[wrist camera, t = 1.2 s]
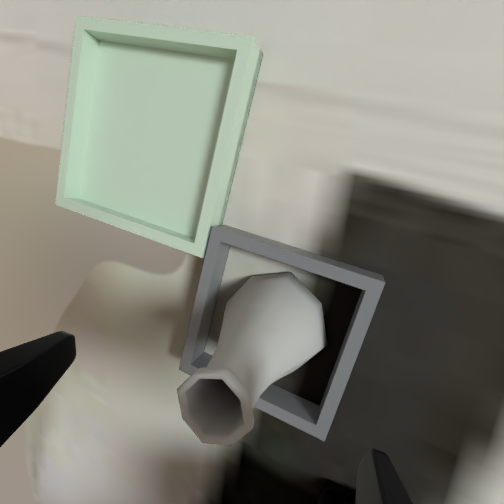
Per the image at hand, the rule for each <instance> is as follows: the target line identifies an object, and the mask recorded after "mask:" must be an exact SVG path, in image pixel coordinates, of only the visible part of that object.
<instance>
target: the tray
mask: <svg viewBox="0 0 504 504" xmlns="http://www.w3.org/2000/svg"><path fill="white" fill-rule="evenodd" d="M262 56H263V53H262V51H261V49H260V48H259V46H258V44H257V42H256V41H255V39H254V37H253V36H245V35H237V34H228V33H220V32H212V31H203V30H195V29H186V28H178V27H169V26H161V25H152V24H144V23H136V22H127V21H119V20H110V19H102V18H93V17H85V16H76V22H75V31H74V40H73V49H72V58H71V67H70V76H69V85H68V94H67V103H66V112H65V121H64V130H63V140H62V149H61V158H60V167H59V176H58V185H57V194H56V203H55V205H57V206H60V207H62V208H65V209H68V210H71V211H73V212H76V213H79V214H82V215H84V216H87V217H90V218H93V219H96V220H98V221H101V222H104V223H107V224H109V225H112V226H115V227H118V228H120V229H123V230H126V231H129V232H131V233H134V234H137V235H140V236H142V237H145V238H148V239H151V240H154V241H156V242H159V243H162V244H164V245H167V246H170V247H173V248H176V249H179V250H181V251H184V252H187V253H189V254H192V255H195V256H198V257H200V258H204V257H205V255H206V251H207V246H208V242H209V238H210V233H211V229H212V226H219V225H222V223H223V219H224V215H225V210H226V206H227V202H228V198H229V194H230V190H231V185H232V181H233V177H234V173H235V169H236V165H237V161H238V156H239V152H240V148H241V144H242V140H243V136H244V131H245V127H246V123H247V119H248V115H249V111H250V106H251V102H252V98H253V94H254V90H255V86H256V81H257V77H258V73H259V69H260V65H261V61H262Z"/></svg>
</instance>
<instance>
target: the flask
mask: <svg viewBox="0 0 504 504" xmlns="http://www.w3.org/2000/svg"><path fill="white" fill-rule="evenodd" d="M326 346H327V338H326V331H325V324H324V317H323V310H322V303H321V302H320V301H319V300H318V299H317V298H316V297H315V296H314V295H313V294H312V293H311V292H310V291H309V290H308V289H307V288H306V287H305V286H304V285H303V284H302V283H301V282H300V281H299V280H298V279H297V278H296V277H295V276H294V275H293V274H292V273H291V272H288V273H278V274H268V275H258V276H251V277H250V278H249V279H248V280H247V281H246V282H245V283H244V284H243V285H242V286H241V287H240V288H239V289H238V291H237V292H236V293H235V294H234V295H233V296H232V297H231V298H230V299H229V300H228V301H227V302H226V306H225V311H224V318H223V324H222V328H221V332H220V337H219V341H218V345H217V349H216V351H215V352H214V354H213V356H212V358H211V360H210V362H209V364H208V365H207V367H201V368H199V369H197V370H196V371H195V372H194V373H193V374H192V375H191V376H190V377H189V378H188V379H187V380H186V381H185V382H184V383H183V384H181V385H180V386H179V388H178V389H177V392H178V398H179V403H180V408H181V414H182V418H183V420H184V421H185V422H186V423H187V424H188V426H189V427H190V428H191V429H192V431H193V432H194V433H195V434H196V435H197V437H198V438H199V439H200V440H201V441H202V443H210V444H219V445H228V446H231V445H232V444H234V443H235V442H236V441H238V440H239V439H240V438H242V437H243V436H244V435H246V434H247V433H248V432H250V431H251V430H252V428H253V426H254V417H253V411H252V410H253V408H254V406H255V404H256V402H257V401H258V399H259V397H260V395H261V394H262V393H263V392H264V391H265V390H266V389H267V388H268V386H269V385H270V384H272V383H273V382H275V381H277V380H278V379H280V378H282V377H284V376H286V375H288V374H290V373H292V372H293V371H295V370H297V369H298V368H299V367H301V366H302V365H303V364H304V363H306V362H307V361H308V360H309V359H311V358H312V357H313V356H314V355H316V354H317V353H318V352H319V351H321V350H322V349H323V348H324V347H326Z"/></svg>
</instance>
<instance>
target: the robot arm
mask: <svg viewBox="0 0 504 504" xmlns="http://www.w3.org/2000/svg"><path fill="white" fill-rule="evenodd" d="M75 357H76V345H75V337H74V335H72V334H70V333H67V332H64V331H59V332H56V333H53V334H50V335H47V336H45V337H41V338H39V339H36V340H33V341H30V342H27V343H24V344H21V345H19V346H16V347H13V348H10V349H7V350H4V351H2V352H0V447H1V446H2V445H3V444H4V443H5V442H6V440H7V439H8V438H9V437H10V436H11V435H12V434H13V433H14V432H15V431H16V430H17V429H18V427H20V426H21V424H22V423H23V422H24V421H25V420H26V419H27V418H28V417H29V416H30V415H31V414H32V413H33V411H34V410H35V409H36V408H37V407H38V406H39V404H40V403H41V402H42V401H43V400H44V398H45V397H46V396H47V395H48V393H49V392H50V391H51V389H52V388H53V387H54V386H55V384H56V383H57V382H58V381H59V379H60V378H61V377H62V375H63V374H64V373H65V372H66V370H67V369H68V368H69V367H70V365H71V364H72V363H73V361H74V359H75ZM329 490H331V491H332V492H331V491H329ZM316 504H414V503H413V501H412V500H411V498H410V496H409V494H408V492H407V490H406V488H405V487H404V485H403V483H402V481H401V479H400V477H399V475H398V473H397V472H396V470H395V468H394V466H393V464H392V462H391V460H390V459H389V457H388V456H387V454H385V453H384V452H381V451H379V450H376V449H373V448H370V449H369V450H368V451H367V453H366V454H365V456H364V457H363V459H362V460H361V462H360V464H359V466H358V469H357V479H356V495H355V494H353V493H351V492H349V491H347V490H345V489H343V488H342V487H340V486H338V485H336V484H334V483H332V482H326V483H324V485H323V487H322V490H321V493H320V495H319V498H318V500H317V503H316Z"/></svg>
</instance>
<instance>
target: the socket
mask: <svg viewBox="0 0 504 504" xmlns="http://www.w3.org/2000/svg"><path fill="white" fill-rule="evenodd" d="M230 245H232V246H235V247H238V248H241V249H244V250H247V251H250V252H253V253H256V254H259V255H262V256H265V257H268V258H271V259H274V260H277V261H280V262H283V263H286V264H288V265H291V266H294V267H297V268H300V269H303V270H306V271H309V272H312V273H315V274H318V275H321V276H324V277H327V278H330V279H333V280H336V281H339V282H342V283H345V284H348V285H351V286H354V287H357V288H360V289H362V291H361V294H360V297H359V300H358V302H357V305H356V308H355V310H354V313H353V316H352V319H351V321H350V324H349V327H348V330H347V332H346V335H345V338H344V341H343V343H342V346H341V349H340V351H339V354H338V357H337V360H336V362H335V365H334V368H333V371H332V373H331V376H330V379H329V382H328V384H327V387H326V390H325V392H324V395H323V398H322V401H321V403H320V406H319V405H317V404H314V403H312V402H310V401H308V400H306V399H304V398H301V397H299V396H297V395H295V394H293V393H291V392H288V391H286V390H284V389H282V388H280V387H278V386H275V385H273V384H270V385H269V386H268V388H267V389H266V390H265V391H264V392H263V393H262V394H261V395H260V397H259V399H258V401H257V402H256V404H255V406H254V407H256V408H258V409H260V410H262V411H264V412H266V413H268V414H270V415H272V416H274V417H276V418H278V419H280V420H282V421H284V422H286V423H288V424H290V425H292V426H294V427H296V428H298V429H300V430H302V431H305V432H307V433H309V434H311V435H313V436H315V437H317V438H319V439H321V440H323V441H325V439H326V436H327V434H328V431H329V429H330V426H331V423H332V421H333V418H334V416H335V413H336V410H337V408H338V405H339V403H340V400H341V397H342V395H343V392H344V389H345V387H346V384H347V382H348V379H349V376H350V374H351V371H352V369H353V366H354V363H355V361H356V358H357V355H358V353H359V350H360V348H361V345H362V342H363V340H364V337H365V335H366V332H367V329H368V327H369V324H370V321H371V319H372V316H373V314H374V311H375V308H376V306H377V303H378V301H379V298H380V295H381V293H382V290H383V287H384V285H385V280H384V278H383V276H382V275H380V274H377V273H374V272H371V271H368V270H364V269H361V268H358V267H355V266H352V265H349V264H346V263H343V262H339V261H336V260H333V259H330V258H327V257H324V256H321V255H317V254H314V253H311V252H308V251H305V250H302V249H299V248H295V247H292V246H289V245H286V244H283V243H280V242H277V241H274V240H270V239H267V238H264V237H261V236H258V235H255V234H252V233H248V232H245V231H242V230H239V229H236V228H233V227H230V226H227V225H219V226H212V229H211V233H210V238H209V242H208V246H207V251H206V255H205V259H204V263H203V268H202V272H201V276H200V281H199V285H198V289H197V294H196V298H195V302H194V306H193V311H192V315H191V319H190V324H189V328H188V332H187V336H186V341H185V345H184V349H183V354H182V358H181V362H180V367H179V370H181V371H183V372H185V373H187V374H189V375H192V374H193V373H194V372H195V371H196V370H197V369H199V368H201V367H207V365H208V364H209V362H210V360H211V358H212V356H211V355H208V354H206V353H204V348H205V344H206V340H207V336H208V332H209V328H210V324H211V320H212V316H213V312H214V308H215V304H216V300H217V296H218V292H219V288H220V284H221V280H222V276H223V272H224V268H225V264H226V260H227V256H228V252H229V248H230Z"/></svg>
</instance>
